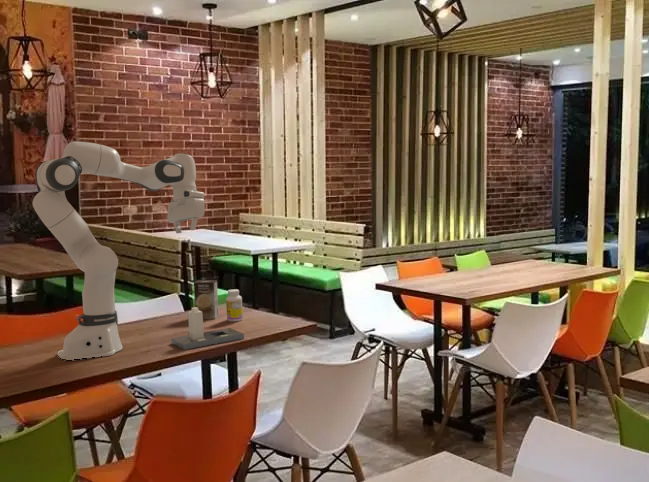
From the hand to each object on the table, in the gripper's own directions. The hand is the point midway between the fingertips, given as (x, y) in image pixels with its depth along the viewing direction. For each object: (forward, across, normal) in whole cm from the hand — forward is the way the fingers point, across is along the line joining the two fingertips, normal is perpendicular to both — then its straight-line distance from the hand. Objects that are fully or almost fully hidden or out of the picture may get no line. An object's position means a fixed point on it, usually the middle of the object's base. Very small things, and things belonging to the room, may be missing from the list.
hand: (185, 231), depth 270 cm
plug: (+42, +4, +1) cm, 43 cm away
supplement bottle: (+34, -14, +33) cm, 50 cm away
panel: (+42, +5, +5) cm, 43 cm away
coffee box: (+33, -28, +29) cm, 52 cm away
